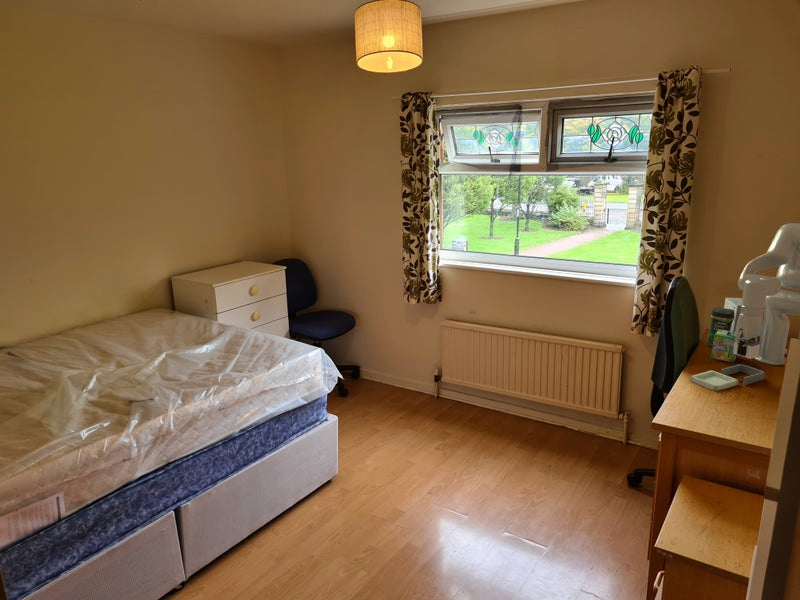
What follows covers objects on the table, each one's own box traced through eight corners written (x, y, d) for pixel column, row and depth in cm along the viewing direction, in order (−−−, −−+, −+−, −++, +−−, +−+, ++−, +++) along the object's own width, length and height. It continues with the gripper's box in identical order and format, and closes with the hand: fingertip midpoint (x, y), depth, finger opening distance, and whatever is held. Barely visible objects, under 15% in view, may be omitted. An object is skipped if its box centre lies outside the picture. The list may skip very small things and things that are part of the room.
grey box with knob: (740, 350, 222) (743, 335, 220) (758, 356, 216) (760, 340, 214) (733, 353, 220) (735, 337, 218) (750, 358, 214) (752, 343, 212)
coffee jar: (704, 346, 256) (710, 308, 251) (707, 341, 262) (713, 304, 257) (728, 350, 250) (734, 311, 246) (730, 345, 256) (736, 308, 252)
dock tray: (711, 374, 224) (711, 370, 223) (737, 384, 214) (738, 380, 213) (689, 380, 218) (690, 376, 218) (715, 391, 208) (716, 386, 208)
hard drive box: (748, 347, 254) (755, 306, 249) (730, 346, 256) (737, 305, 251) (736, 336, 269) (742, 297, 264) (719, 335, 271) (724, 296, 265)
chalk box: (713, 352, 248) (718, 321, 244) (737, 357, 242) (742, 325, 238) (709, 358, 241) (714, 327, 237) (733, 363, 235) (738, 330, 232)
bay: (739, 370, 228) (741, 363, 227) (764, 379, 219) (766, 372, 218) (720, 376, 222) (721, 369, 222) (744, 385, 213) (745, 378, 213)
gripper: (756, 304, 220) (749, 346, 225) (728, 311, 213) (722, 354, 218) (775, 309, 213) (768, 352, 218) (747, 316, 206) (741, 361, 211)
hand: (745, 353), depth 218 cm, fingers closed on grey box with knob, 5 cm apart
